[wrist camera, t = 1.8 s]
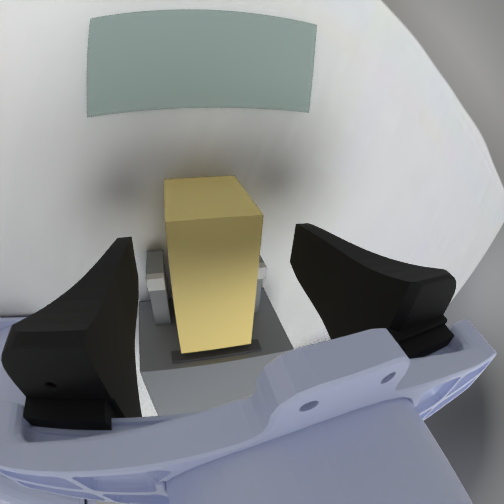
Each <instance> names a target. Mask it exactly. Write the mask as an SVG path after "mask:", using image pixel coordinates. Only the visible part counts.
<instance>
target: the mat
mask: <svg viewBox="0 0 504 504" xmlns="http://www.w3.org/2000/svg"><path fill="white" fill-rule="evenodd" d="M316 29H317V25H315V24H311V23H306V22H302V21H297V20H292V19H286V18H281V17H275V16H268V15H261V14H253V13H245V12H234V11H220V10H156V11H142V12H132V13H123V14H116V15H109V16H103V17H97V18H92V19H90V26H89V38H88V53H87V117H92V116H99V115H106V114H114V113H122V112H131V111H142V110H154V109H169V108H195V107H234V108H260V109H276V110H288V111H299V112H308V113H309V107H310V97H311V87H312V77H313V66H314V55H315V42H316Z"/></svg>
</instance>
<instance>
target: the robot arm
mask: <svg viewBox="0 0 504 504" xmlns="http://www.w3.org/2000/svg"><path fill="white" fill-rule="evenodd" d="M290 263H291V265H292V268H293V270H294V273H295V275H296V277H297V279H298V281H299V283H300V284H301V286H302V288H303V289H304V291H305V292H306V294H307V296H308V297H309V299H310V300H311V302H312V304H313V305H314V307H315V308H316V310H317V312H318V313H319V315H320V317H321V319H322V321H323V323H324V325H325V327H326V329H327V331H328V334H329V336H330V338H331V340H328V341H324V342H320V343H316V344H311V345H307V346H302V347H298V348H296V349H293V350H290V351H288V352H285V353H282V354H280V355H279V356H277V357H276V358H275V359H273V360H272V361H270V362H269V363H268V364H266V365H265V367H264V368H263V370H262V372H261V373H260V375H259V377H258V378H257V381H256V388H255V392H254V394H251V395H249V396H246V397H243V398H240V399H237V400H234V401H232V402H229V403H226V404H223V405H220V406H216V407H213V408H210V409H207V410H204V411H200V412H192V413H184V414H174V415H164V416H152V417H142V414H141V408H140V401H139V393H138V385H137V375H136V362H135V330H136V318H137V308H138V298H139V291H138V273H137V267H136V262H135V256H134V250H133V244H132V237H124V238H117V239H116V240H115V242H114V243H113V244H112V245H111V246H110V248H109V249H108V250H107V251H106V252H105V254H104V255H103V256H102V257H101V258H100V260H99V261H98V262H97V263H96V264H95V265H94V266H93V267H92V268H91V269H90V270H89V272H88V273H87V274H86V275H85V276H84V277H83V278H82V279H81V280H80V281H78V282H77V283H76V284H75V285H74V286H73V287H72V288H71V289H69V290H68V291H67V292H65V293H64V294H63V295H61V296H60V297H59V298H57V299H56V300H55V301H53V302H52V303H50V304H49V305H47V306H46V307H44V308H43V309H41V310H39V311H38V312H36V313H34V314H32V315H30V316H28V317H12V318H0V504H97V503H96V501H103V502H113V503H125V504H473V503H472V501H471V500H470V498H469V496H468V494H467V493H466V491H465V489H464V487H463V485H462V484H461V482H460V480H459V478H458V477H457V475H456V473H455V472H454V470H453V468H452V467H451V465H450V463H449V462H448V460H447V458H446V457H445V455H444V453H443V452H442V450H441V448H440V447H439V445H438V443H437V442H436V440H435V439H434V437H433V435H432V434H431V432H430V431H429V429H428V428H427V426H426V424H425V423H424V421H423V420H425V419H426V418H428V417H429V416H431V415H432V414H433V413H435V412H436V411H438V410H439V409H440V408H442V407H443V406H445V405H446V404H447V403H449V402H450V401H451V400H453V399H454V398H455V397H457V396H458V395H459V394H461V393H462V392H463V391H465V390H466V389H467V388H469V387H470V385H471V384H472V383H473V382H474V381H475V380H476V379H477V377H478V376H479V375H480V374H481V373H482V372H483V370H484V369H485V368H486V367H487V366H488V364H489V363H490V362H491V360H492V359H493V358H494V357H495V355H496V351H495V350H494V349H493V348H492V347H491V345H490V344H489V343H488V342H487V341H486V340H485V338H484V337H483V336H482V335H481V334H480V333H479V332H478V331H477V329H476V328H475V327H474V326H473V325H472V324H471V323H470V322H469V321H468V320H467V319H463V320H461V321H459V322H457V323H455V324H453V325H452V326H451V327H450V328H449V329H448V328H447V326H446V325H445V323H446V322H447V319H446V317H444V315H443V314H444V312H445V310H446V309H447V307H448V305H449V303H450V301H451V299H452V297H453V295H454V293H455V289H456V280H455V278H454V277H453V276H452V275H451V274H450V273H449V272H448V271H446V270H444V269H437V268H429V267H422V266H417V265H412V264H408V263H404V262H400V261H396V260H393V259H389V258H386V257H383V256H380V255H378V254H375V253H372V252H370V251H367V250H365V249H363V248H360V247H358V246H356V245H354V244H352V243H349V242H347V241H345V240H343V239H341V238H339V237H337V236H335V235H333V234H331V233H329V232H327V231H325V230H323V229H321V228H319V227H317V226H314V225H312V224H309V223H305V224H296V227H295V234H294V240H293V246H292V253H291V259H290Z"/></svg>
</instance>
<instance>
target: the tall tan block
mask: <svg viewBox="0 0 504 504" xmlns="http://www.w3.org/2000/svg"><path fill="white" fill-rule="evenodd" d="M164 204H165V226H166V238H167V249H168V259H169V269H170V277H171V286H172V294H173V301H174V309H175V316H176V323H177V329H178V336H179V342H180V348H181V354H182V353H190V352H198V351H206V350H213V349H220V348H227V347H233V346H239V345H245V344H251V338H252V328H253V318H254V308H255V298H256V288H257V278H258V267H259V257H260V247H261V236H262V225H263V214H262V212H261V211H260V209H259V208H258V207H257V205H256V204H255V203H254V201H253V200H252V199H251V197H250V196H249V195H248V193H247V192H246V191H245V189H244V188H243V187H242V185H241V184H240V183H239V181H238V180H237V179H236V177H235V176H212V177H193V178H178V179H164Z"/></svg>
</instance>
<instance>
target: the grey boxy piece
mask: <svg viewBox="0 0 504 504" xmlns="http://www.w3.org/2000/svg"><path fill="white" fill-rule="evenodd" d="M266 270H267V267H266V265H265V263H264V261H263V259H262V258H261V256H260V257H259V267H258V278H257V288H256V298H255V308H254V318H253V328H252V338H251V344H245V345H239V346H233V347H227V348H220V349H213V350H206V351H198V352H190V353H182V354H181V348H180V342H179V336H178V329H177V323H176V316H175V309H174V301H173V299H169V298H168V291H167V284H166V276H165V268H164V259H163V250H157V251H147V258H146V283H147V289H148V291H149V294H150V299H151V301H144V302H139V353H140V373H141V376H142V378H143V381H144V383H145V386H146V388H147V391H148V393H149V396H150V398H151V400H152V403H153V405H154V407H155V410H156V412H157V414H158V416H164V415H174V414H184V413H192V412H200V411H204V410H207V409H210V408H213V407H216V406H220V405H223V404H226V403H229V402H232V401H234V400H237V399H240V398H243V397H246V396H249V395H251V394H254V392H255V388H256V381H257V378H258V377H259V375H260V373H261V372H262V370H263V368H264V367H265V365H266V364H268V363H269V362H270V361H272V360H273V359H275V358H276V357H277V356H279V355H280V354H282V353H285V352H288V351H290V350H293V347H292V345H291V343H290V341H289V339H288V337H287V335H286V333H285V331H284V328H283V326H282V324H281V322H280V320H279V318H278V316H277V314H276V312H275V310H274V308H273V306H272V304H271V302H270V300H269V298H268V296H267V294H266V292H265V290H264V288H261V286H262V279H264V278H266Z"/></svg>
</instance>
